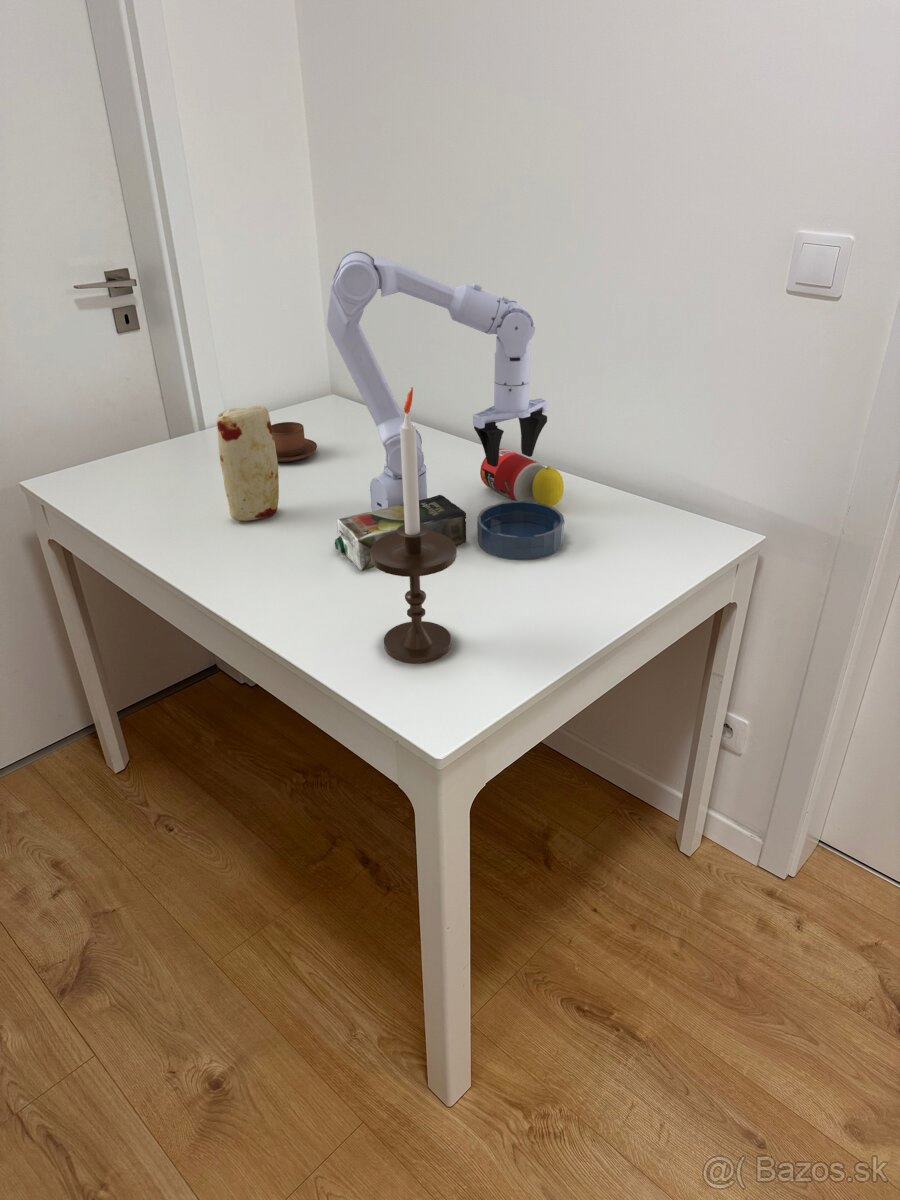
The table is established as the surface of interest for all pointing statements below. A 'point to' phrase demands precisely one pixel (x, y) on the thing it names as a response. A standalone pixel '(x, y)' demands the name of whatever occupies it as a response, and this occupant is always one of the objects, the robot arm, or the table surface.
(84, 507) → the table surface
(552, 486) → the lemon
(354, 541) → the juice carton
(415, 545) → the candlestick
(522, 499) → the canned food
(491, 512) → the bowl
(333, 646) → the table surface
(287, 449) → the cup and saucer
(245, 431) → the food model
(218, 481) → the table surface
